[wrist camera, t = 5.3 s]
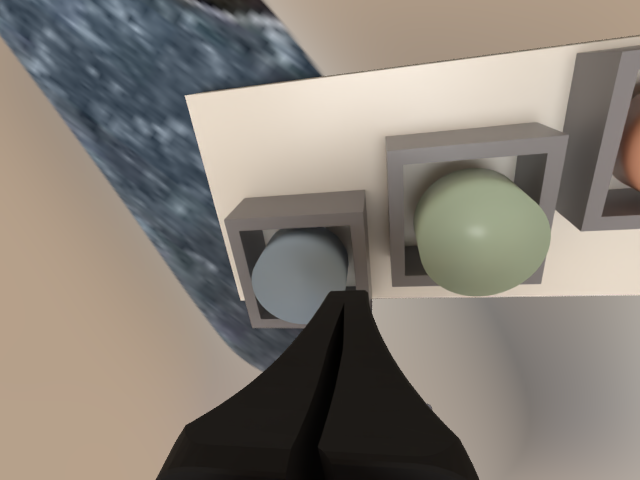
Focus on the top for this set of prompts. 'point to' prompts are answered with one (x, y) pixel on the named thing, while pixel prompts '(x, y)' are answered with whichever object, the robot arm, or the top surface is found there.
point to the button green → (479, 232)
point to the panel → (430, 163)
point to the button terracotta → (630, 148)
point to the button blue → (299, 272)
